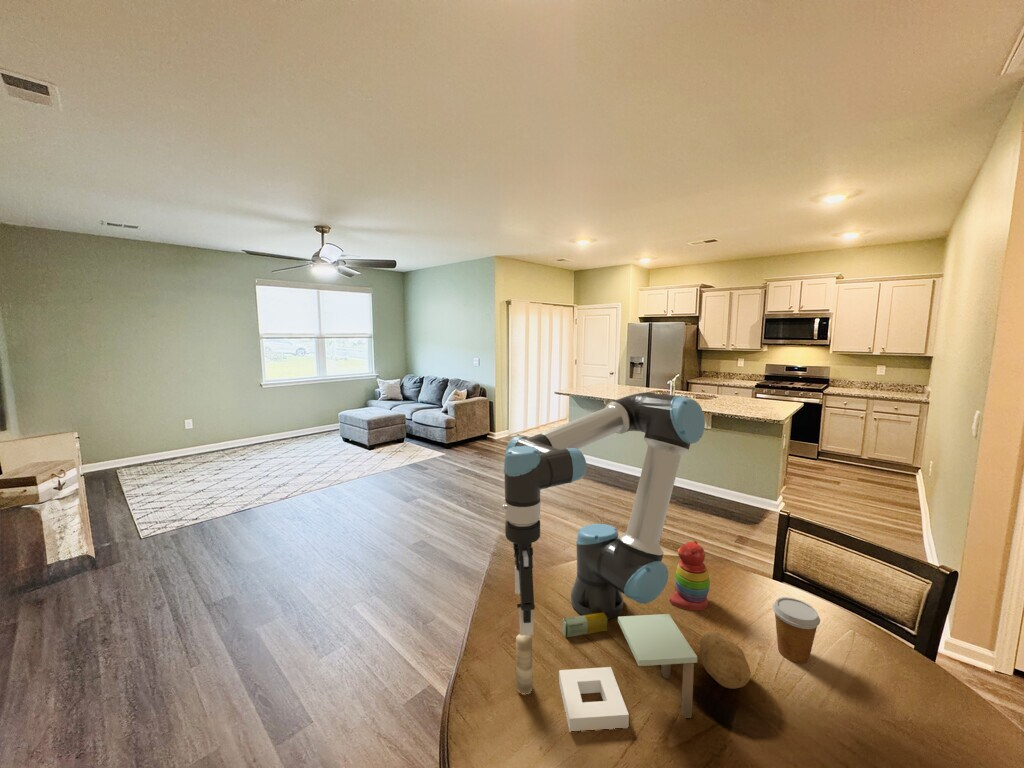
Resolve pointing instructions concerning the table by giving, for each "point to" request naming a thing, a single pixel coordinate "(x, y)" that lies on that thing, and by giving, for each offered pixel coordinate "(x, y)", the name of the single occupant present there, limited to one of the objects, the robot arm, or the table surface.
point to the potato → (724, 660)
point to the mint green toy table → (661, 649)
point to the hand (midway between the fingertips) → (523, 612)
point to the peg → (524, 663)
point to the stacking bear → (691, 578)
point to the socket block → (592, 713)
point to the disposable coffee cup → (795, 628)
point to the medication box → (584, 624)
